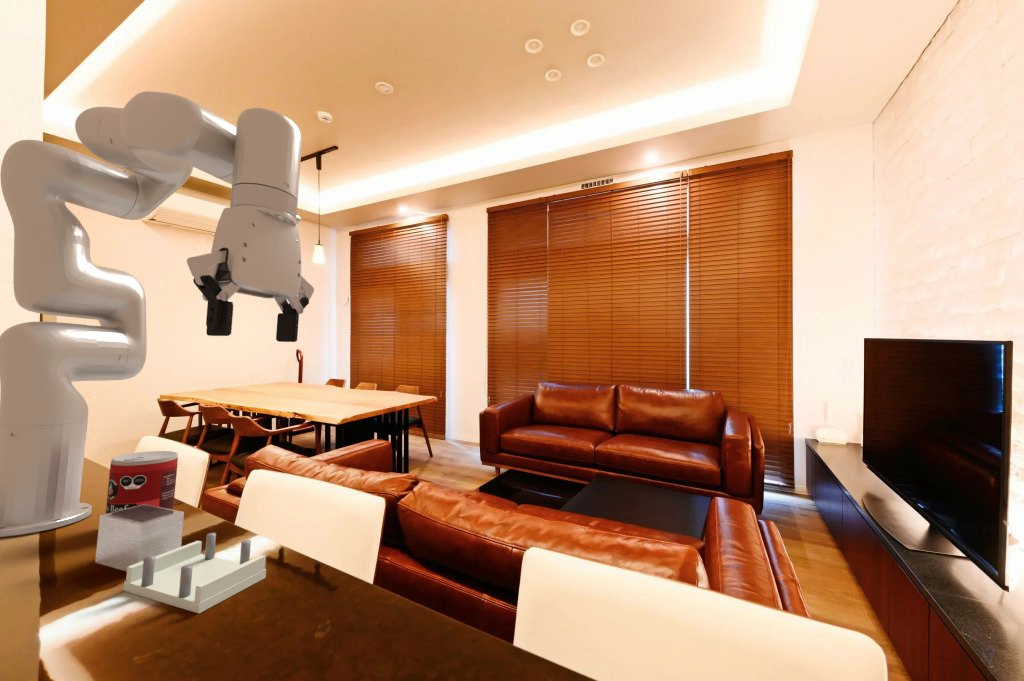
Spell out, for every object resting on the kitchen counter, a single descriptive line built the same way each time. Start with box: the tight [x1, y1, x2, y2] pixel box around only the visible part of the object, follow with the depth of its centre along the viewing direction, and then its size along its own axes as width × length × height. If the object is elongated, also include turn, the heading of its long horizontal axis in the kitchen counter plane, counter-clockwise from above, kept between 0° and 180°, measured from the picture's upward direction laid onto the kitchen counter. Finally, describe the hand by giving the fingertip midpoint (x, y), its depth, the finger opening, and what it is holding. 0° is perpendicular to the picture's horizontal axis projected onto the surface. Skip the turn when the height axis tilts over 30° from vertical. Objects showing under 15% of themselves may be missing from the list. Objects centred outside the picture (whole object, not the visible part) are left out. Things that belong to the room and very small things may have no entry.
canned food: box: [105, 450, 179, 514], centre depth 65 cm, size 8×8×11 cm
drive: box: [94, 504, 185, 572], centre depth 55 cm, size 8×5×6 cm, turn 72°
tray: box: [123, 532, 267, 614], centre depth 49 cm, size 12×8×4 cm, turn 72°
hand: (255, 338), depth 53 cm, fingers open, 9 cm apart
